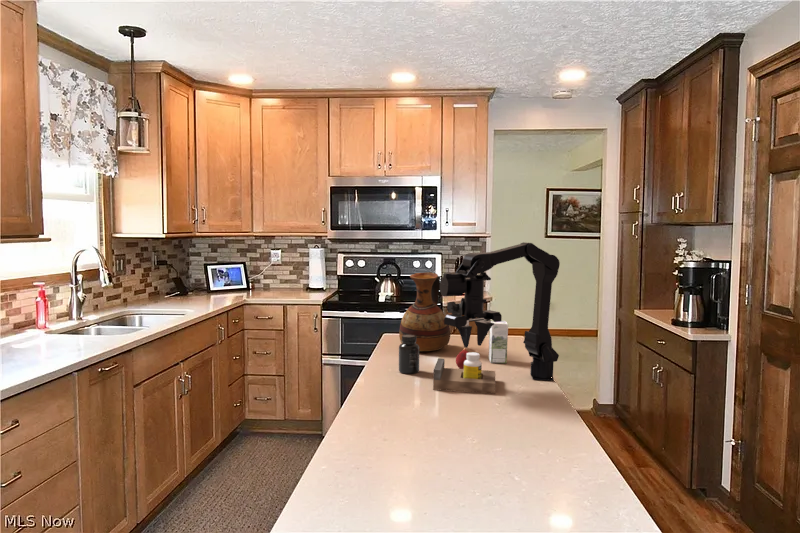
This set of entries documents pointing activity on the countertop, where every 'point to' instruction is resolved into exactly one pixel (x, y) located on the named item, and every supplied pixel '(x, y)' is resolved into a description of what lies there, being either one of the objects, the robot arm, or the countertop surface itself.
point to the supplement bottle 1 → (409, 355)
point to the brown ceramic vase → (426, 315)
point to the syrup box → (498, 342)
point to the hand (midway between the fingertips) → (472, 346)
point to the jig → (462, 380)
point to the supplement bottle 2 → (472, 366)
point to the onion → (461, 358)
